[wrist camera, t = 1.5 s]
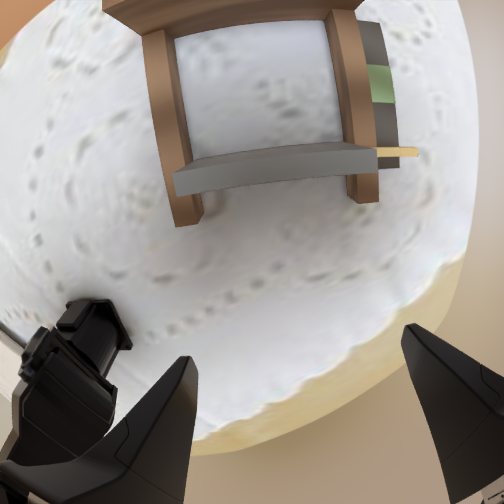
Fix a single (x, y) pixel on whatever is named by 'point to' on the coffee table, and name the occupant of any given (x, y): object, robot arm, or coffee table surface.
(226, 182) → the pad
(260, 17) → the brown wooden frame
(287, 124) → the coffee table surface
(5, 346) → the square plate
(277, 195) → the coffee table surface
